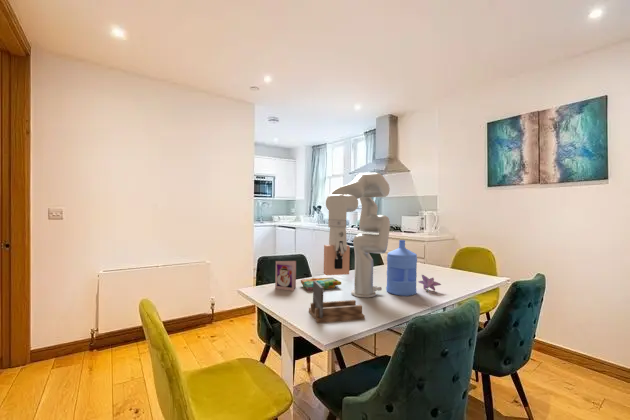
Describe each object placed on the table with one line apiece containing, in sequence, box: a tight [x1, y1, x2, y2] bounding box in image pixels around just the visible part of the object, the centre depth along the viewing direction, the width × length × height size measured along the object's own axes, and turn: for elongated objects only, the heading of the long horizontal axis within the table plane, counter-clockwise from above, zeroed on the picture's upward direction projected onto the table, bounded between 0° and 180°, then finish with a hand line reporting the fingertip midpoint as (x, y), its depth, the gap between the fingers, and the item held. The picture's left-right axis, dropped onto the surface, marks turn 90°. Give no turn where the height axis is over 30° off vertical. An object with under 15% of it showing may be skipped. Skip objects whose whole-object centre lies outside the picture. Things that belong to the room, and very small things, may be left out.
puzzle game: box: [300, 277, 342, 292], centre depth 176 cm, size 12×5×20 cm
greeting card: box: [274, 260, 297, 292], centre depth 173 cm, size 11×7×15 cm, turn 68°
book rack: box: [308, 281, 366, 324], centre depth 131 cm, size 20×14×14 cm
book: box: [323, 244, 351, 276], centre depth 131 cm, size 10×4×12 cm, turn 105°
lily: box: [417, 274, 442, 293], centre depth 171 cm, size 11×11×9 cm
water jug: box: [385, 239, 418, 297], centre depth 168 cm, size 16×16×28 cm
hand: (336, 267), depth 131 cm, fingers closed on book, 4 cm apart
